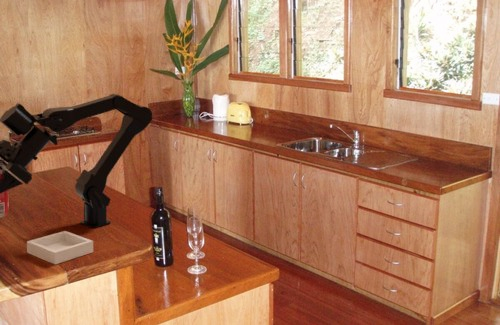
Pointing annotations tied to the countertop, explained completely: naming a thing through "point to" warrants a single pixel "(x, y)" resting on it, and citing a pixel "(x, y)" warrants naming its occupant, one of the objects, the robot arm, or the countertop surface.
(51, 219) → the countertop surface
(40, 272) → the countertop surface
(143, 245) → the countertop surface
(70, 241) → the dish
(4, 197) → the soda can
